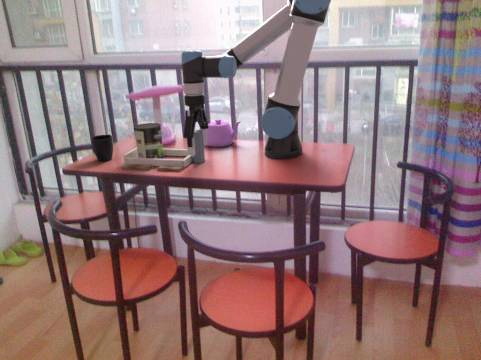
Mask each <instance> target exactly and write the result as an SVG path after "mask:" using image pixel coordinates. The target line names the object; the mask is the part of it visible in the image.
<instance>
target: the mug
mask: <svg viewBox="0 0 481 360" xmlns="http://www.w3.org/2000/svg"><path fill="white" fill-rule="evenodd" d="M90 141H91V146H92V151H93V153H94V155H95V158H96V159H97V161H98V162H100V163H104V162H109V161H112V159H113V155H114V141H113V135H112V134H99V135H94V136H92V137H91V138H90Z"/></svg>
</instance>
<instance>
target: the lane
mask: <svg viewBox="0 0 481 360" xmlns="http://www.w3.org/2000/svg"><path fill="white" fill-rule="evenodd" d="M193 138H194V142H195V155H188V151H187V148H164V147H163V154H164V156H174V157H178V156H179V157H184V158H183V159H178V158H177V159H176V158H164V159H155V158H138V152H137V146H136V147H134V148H133V149H131V150H130V151H127V152H126V153H124V154H123V161H124V162H123V163H124V165H126V164H139V165H153V167H160V166H161V165H163V166H183V167H184V168H186V167H187V166H189V165H190V164H191V163H194V164H202V163H203V162H204V161H206V159H205V158H206V157H205V146H204V142H203V130H199V129H195V130H194V135H193Z"/></svg>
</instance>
